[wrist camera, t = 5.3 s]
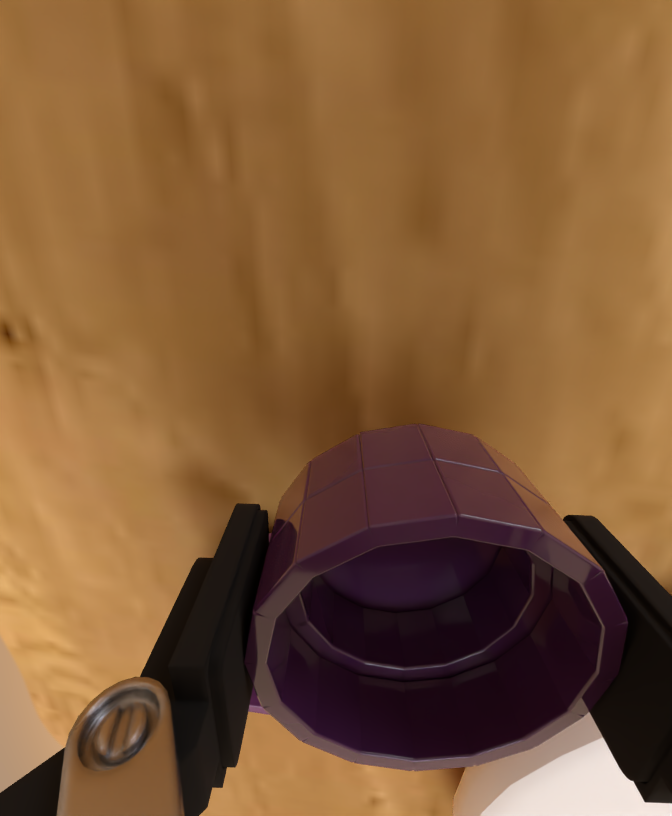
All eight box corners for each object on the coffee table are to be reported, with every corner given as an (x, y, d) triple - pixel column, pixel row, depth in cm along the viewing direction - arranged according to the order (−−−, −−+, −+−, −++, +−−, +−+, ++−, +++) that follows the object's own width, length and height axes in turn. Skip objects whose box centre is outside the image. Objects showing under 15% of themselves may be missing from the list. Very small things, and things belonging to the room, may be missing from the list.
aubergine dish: (249, 439, 9) (195, 549, 6) (529, 395, 9) (653, 488, 5) (306, 627, 12) (291, 783, 8) (526, 602, 11) (607, 757, 8)
